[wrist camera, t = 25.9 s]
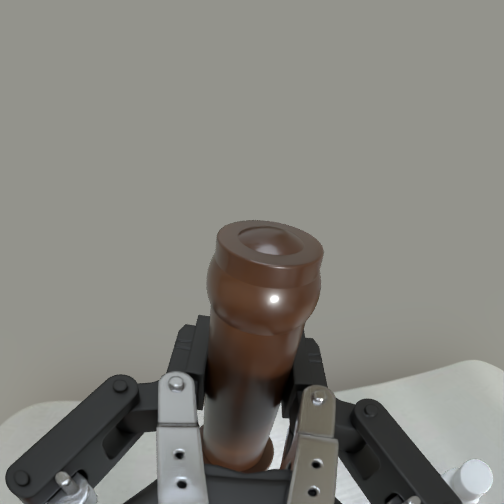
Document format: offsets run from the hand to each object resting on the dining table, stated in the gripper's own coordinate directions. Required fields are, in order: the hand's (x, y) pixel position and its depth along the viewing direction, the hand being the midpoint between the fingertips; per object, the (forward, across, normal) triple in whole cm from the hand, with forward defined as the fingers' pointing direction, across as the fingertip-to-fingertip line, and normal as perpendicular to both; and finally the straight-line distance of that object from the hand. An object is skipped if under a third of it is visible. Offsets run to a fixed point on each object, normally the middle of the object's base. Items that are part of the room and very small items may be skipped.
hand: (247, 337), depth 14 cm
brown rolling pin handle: (-2, 0, +9) cm, 9 cm away
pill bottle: (-4, -21, +22) cm, 31 cm away
